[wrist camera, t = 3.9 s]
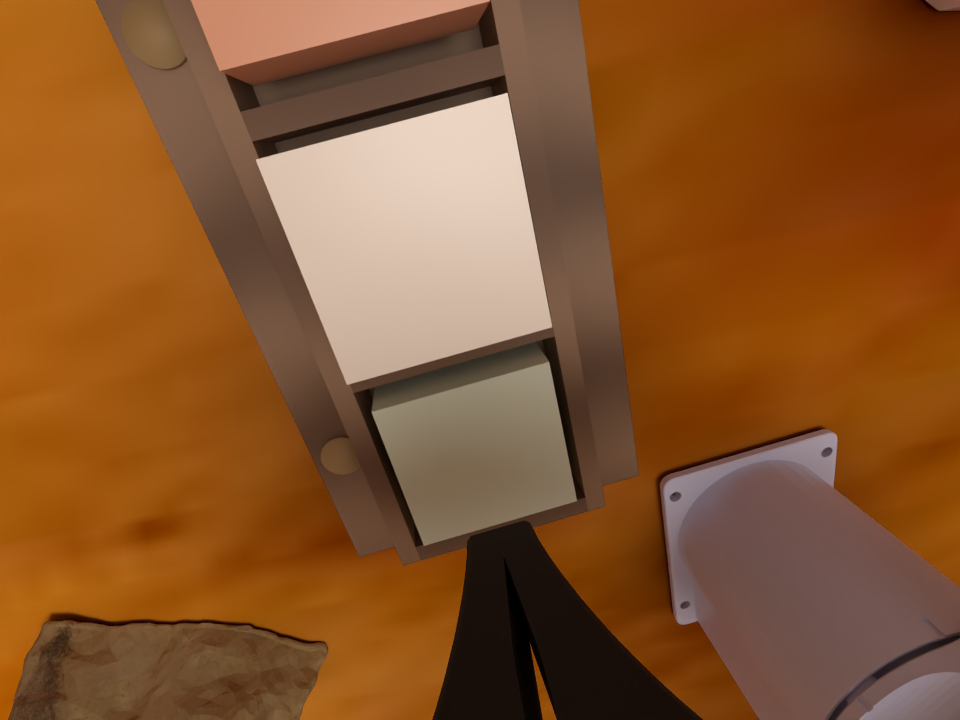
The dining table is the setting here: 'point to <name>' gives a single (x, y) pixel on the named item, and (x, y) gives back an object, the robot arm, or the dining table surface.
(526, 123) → the brown flat tray
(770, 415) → the dining table surface
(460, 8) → the terracotta key
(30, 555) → the dining table surface
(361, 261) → the cream key
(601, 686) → the robot arm
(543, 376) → the sage key
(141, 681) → the rock
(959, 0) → the white cup
